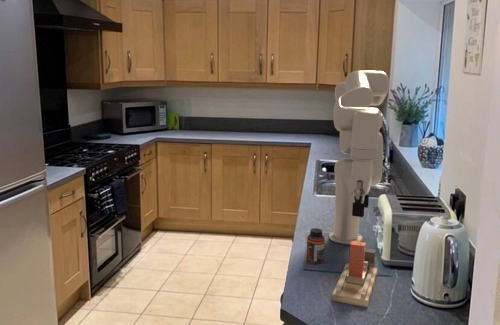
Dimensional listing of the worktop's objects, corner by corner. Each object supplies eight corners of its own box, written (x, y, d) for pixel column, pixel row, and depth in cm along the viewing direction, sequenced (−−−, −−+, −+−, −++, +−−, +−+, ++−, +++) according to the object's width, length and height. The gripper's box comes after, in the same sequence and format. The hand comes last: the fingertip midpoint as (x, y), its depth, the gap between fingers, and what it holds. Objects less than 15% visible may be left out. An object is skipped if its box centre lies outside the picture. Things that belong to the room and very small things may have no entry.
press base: (346, 268, 162) (347, 245, 160) (377, 273, 159) (378, 250, 157) (331, 300, 140) (333, 274, 138) (367, 307, 137) (369, 280, 135)
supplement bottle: (303, 259, 169) (304, 227, 167) (318, 257, 171) (319, 226, 169) (311, 265, 164) (312, 233, 162) (326, 263, 166) (328, 231, 164)
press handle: (350, 271, 154) (353, 235, 152) (366, 274, 153) (369, 237, 150) (346, 281, 147) (348, 244, 144) (363, 284, 145) (366, 246, 143)
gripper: (355, 148, 149) (352, 202, 152) (345, 158, 133) (342, 218, 137) (380, 150, 146) (376, 205, 150) (373, 160, 130) (369, 222, 134)
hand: (360, 211), depth 143 cm, fingers open, 9 cm apart
